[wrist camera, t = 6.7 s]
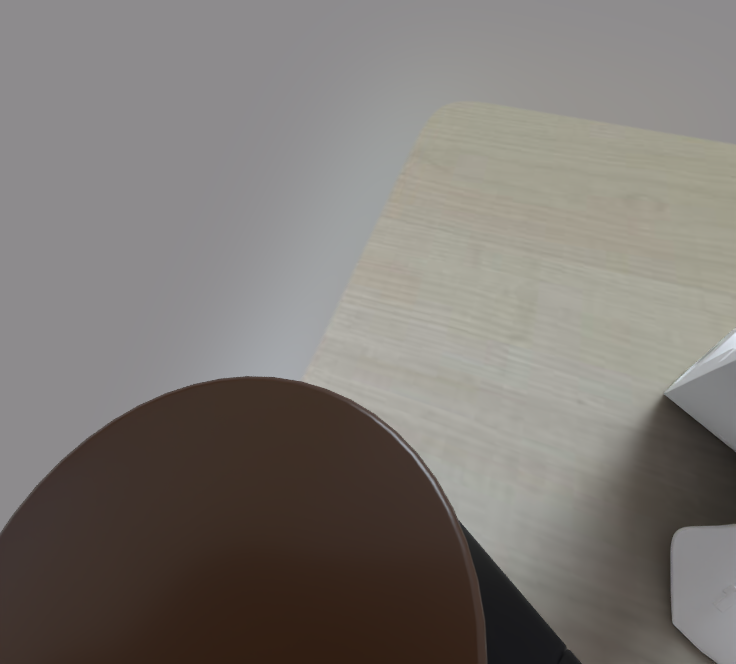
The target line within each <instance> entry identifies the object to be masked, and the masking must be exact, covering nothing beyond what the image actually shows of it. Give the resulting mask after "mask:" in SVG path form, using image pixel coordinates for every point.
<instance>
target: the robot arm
mask: <svg viewBox="0 0 736 664" xmlns="http://www.w3.org/2000/svg"><path fill="white" fill-rule="evenodd" d="M458 521H459V520H458ZM459 523H460V526H461V528H462V530H463V533H464V535H465V537H466V540H467V542H468V546H469V549H470V553H471V556H472V560H473V563H474V567H475V570H476V574H477V577H478V581H479V587H480V593H481V599H482V605H483V611H484V617H485V626H486V644H487V662H488V664H581V662H580V661H579V660H578V659H577V658H576V656H575V655H574V654H573V653H572V652H571V651H570V650H566V649H567V648H566V645H565V644H564V643H563V642H562V640H561V639H560V638H559V637H558V636H557V635H556V633H555V632H554V631H553V630H552V629H551V628H550V626H549V625H548V624H547V623H546V622H545V621H544V619H543V618H542V617H541V616H540V615H539V614H538V612H537V611H536V610H535V609H534V608H533V607H532V605H531V604H530V603H529V602H528V601H527V599H526V598H525V597H524V596H523V595H522V594H521V592H520V591H519V590H518V589H517V588H516V587H515V585H514V584H513V583H512V582H511V581H510V580H509V578H508V577H507V576H506V575H505V574H504V573H503V571H502V570H501V569H500V568H499V567H498V566H497V564H496V563H495V562H494V561H493V560H492V559H491V557H490V556H489V555H488V554H487V553H486V552H485V550H484V549H483V548H482V547H481V546H480V544H479V543H478V542H477V541H476V540H475V539H474V537H473V536H472V535H471V534H470V533H469V532H468V530H467V529H466V528H465V527H464V526H463V525H462V523H461V522H460V521H459Z"/></svg>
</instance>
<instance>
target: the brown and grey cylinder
mask: <svg viewBox="0 0 736 664" xmlns="http://www.w3.org/2000/svg"><path fill="white" fill-rule="evenodd" d="M0 664H488V662H487V644H486V626H485V617H484V611H483V605H482V599H481V593H480V587H479V581H478V577H477V574H476V570H475V567H474V563H473V560H472V556H471V553H470V549H469V546H468V542H467V540H466V537H465V535H464V533H463V530H462V528H461V526H460V523H459V521H458V518H457V516H456V514H455V511H454V509H453V507H452V505H451V503H450V502H449V500H448V498H447V496H446V495H445V493H444V491H443V489H442V488H441V486H440V484H439V482H438V481H437V479H436V477H435V476H434V475H433V473H432V472H431V471H430V469H429V468H428V467H427V465H426V464H425V463H424V461H423V460H422V459H421V457H420V456H419V455H418V453H417V452H416V451H415V450H414V449H413V448H412V447H411V446H410V445H409V444H408V443H407V442H406V441H405V440H404V439H403V438H402V437H401V436H400V435H399V434H398V433H397V432H396V431H395V430H394V429H393V428H391V427H390V426H389V425H388V424H386V423H385V422H384V421H383V420H381V419H380V418H379V417H378V416H376V415H375V414H374V413H372V412H371V411H369V410H367V409H366V408H364V407H362V406H361V405H359V404H357V403H356V402H354V401H352V400H351V399H348V398H346V397H344V396H341V395H339V394H337V393H335V392H332V391H330V390H328V389H325V388H322V387H318V386H315V385H311V384H308V383H304V382H301V381H294V380H288V379H282V378H275V377H249V376H245V377H236V378H235V377H234V378H223V379H217V380H212V381H207V382H202V383H197V384H193V385H190V386H187V387H184V388H181V389H177V390H175V391H172V392H168V393H166V394H163V395H161V396H159V397H156V398H155V399H152V400H150V401H148V402H145V403H143V404H141V405H139V406H137V407H135V408H133V409H132V410H130V411H128V412H126V413H125V414H123V415H121V416H120V417H118V418H116V419H114V420H113V421H111V422H110V423H108V424H107V425H105V426H104V427H103V428H101V429H100V430H98V431H97V432H96V433H94V434H93V435H91V436H90V437H89V438H87V439H86V440H85V441H84V442H82V443H81V444H80V445H79V446H78V447H77V448H75V449H74V450H73V451H72V452H71V453H69V454H68V455H67V456H66V457H65V458H64V459H62V460H61V461H60V463H58V464H57V465H56V466H55V467H54V468H53V469H52V470H51V472H50V473H49V474H48V475H47V476H46V477H45V478H44V479H43V480H42V481H41V482H40V483H39V484H38V485H37V486H36V487H35V488H34V490H33V491H32V492H31V493H30V494H29V496H28V497H27V498H26V499H25V501H24V502H23V503H22V504H21V505H20V507H19V508H18V509H17V510H16V512H15V513H14V514H13V515H12V517H11V518H10V520H9V521H8V523H7V524H6V526H5V527H4V528H3V530H2V532H1V533H0Z"/></svg>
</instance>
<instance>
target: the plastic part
mask: <svg viewBox="0 0 736 664" xmlns="http://www.w3.org/2000/svg"><path fill="white" fill-rule="evenodd" d="M664 394H665V395H666V396H667V397H668V398H669V399H671V400H672V401H673V402H674V403H676V404H677V405H678V406H679V407H681V408H682V409H683V410H684V411H686V412H687V413H688V414H689V415H690V416H692V417H693V418H694V419H695V420H697V421H698V422H699V423H700V424H702V425H703V426H704V427H705V428H707V429H708V430H709V431H710V432H711V433H713V434H714V435H715V436H716V437H718V438H719V439H720V440H721V441H723V442H724V443H725V444H726V445H728V446H729V447H730V448H731V449H733V450H734V451H735V452H736V328H734V329H733V330H732V331H731V332H730V333H728V334H727V335H726V336H725V337H724V338H723V339H721V340H720V341H719V342H718V343H717V344H716V345H715V346H713V347H712V348H711V349H710V350H709V351H708V352H707V353H706V354H704V355H703V356H702V357H701V358H700V359H699V360H698V361H697V362H696V363H694V364H693V365H692V366H691V367H690V368H689V369H688V370H687V371H686V372H685V373H684V374H683V375H682V376H681V377H679V378H678V379H677V380H676V381H675V382H674V383H673V384H672V385H671V386H670V387H669V388H668V389H667V390H666V391H665V392H664ZM670 560H671V612H672V623H673V624H674V625H675V626H676V627H677V628H678V629H679V630H680V631H681V632H682V633H683V634H684V635H685V636H686V637H687V638H688V639H689V640H690V641H691V642H692V643H693V644H694V645H695V646H696V647H697V648H698V649H699V650H700V651H701V652H703V653H704V654H705V655H707V656H708V657H709V658H711V659H712V660H713V661H715V662H716V663H717V664H736V524H730V525H720V526H689V527H683V528H681V529H679V530H677V531H676V532H675V534H674V535H673V538H672V542H671V557H670Z"/></svg>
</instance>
